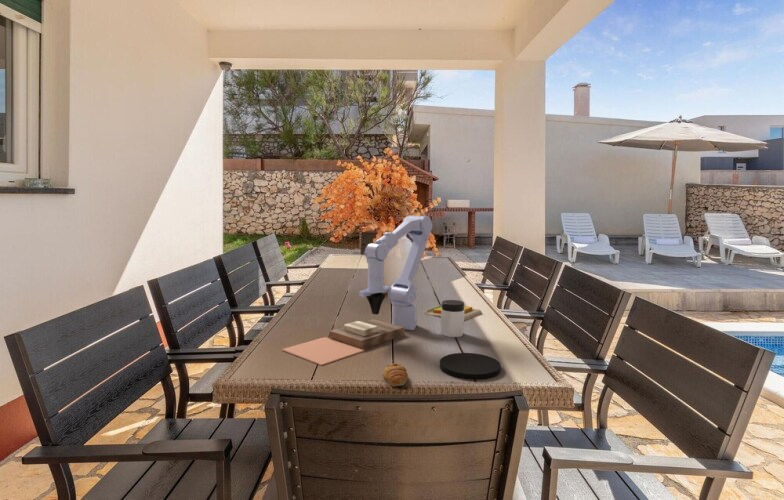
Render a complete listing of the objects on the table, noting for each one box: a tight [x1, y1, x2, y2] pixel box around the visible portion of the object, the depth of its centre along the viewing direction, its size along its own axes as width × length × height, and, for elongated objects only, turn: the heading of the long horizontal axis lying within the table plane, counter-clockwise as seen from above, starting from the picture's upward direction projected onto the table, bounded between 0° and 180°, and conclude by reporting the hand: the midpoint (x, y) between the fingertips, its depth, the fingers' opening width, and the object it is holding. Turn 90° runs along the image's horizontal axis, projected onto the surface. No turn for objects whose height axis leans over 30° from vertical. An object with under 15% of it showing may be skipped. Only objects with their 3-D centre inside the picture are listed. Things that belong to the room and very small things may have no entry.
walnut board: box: [328, 318, 406, 350], centre depth 169 cm, size 22×16×3 cm
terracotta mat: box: [281, 336, 365, 366], centre depth 154 cm, size 18×20×1 cm
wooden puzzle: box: [424, 304, 483, 322], centre depth 204 cm, size 18×19×4 cm
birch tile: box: [343, 320, 378, 336], centre depth 167 cm, size 7×10×2 cm
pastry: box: [382, 362, 409, 387], centre depth 130 cm, size 9×7×4 cm
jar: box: [440, 299, 465, 338], centre depth 174 cm, size 9×8×12 cm
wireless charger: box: [439, 352, 502, 381], centre depth 141 cm, size 18×18×2 cm
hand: (375, 313), depth 172 cm, fingers closed
